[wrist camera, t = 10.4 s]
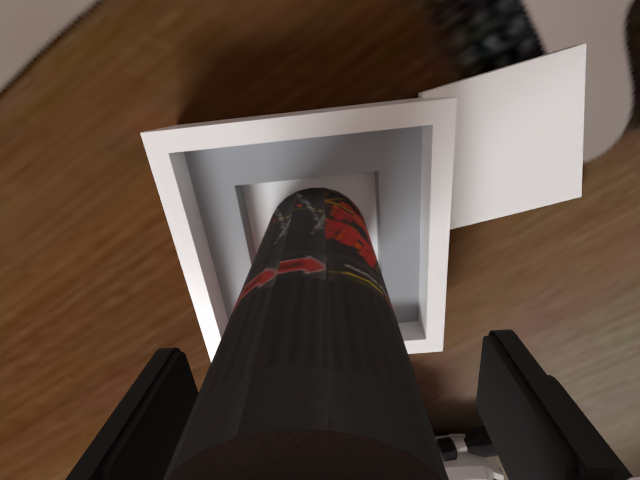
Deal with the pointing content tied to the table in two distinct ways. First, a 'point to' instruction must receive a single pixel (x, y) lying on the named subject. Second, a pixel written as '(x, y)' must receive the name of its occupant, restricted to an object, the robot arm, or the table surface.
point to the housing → (313, 172)
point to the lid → (517, 136)
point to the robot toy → (469, 455)
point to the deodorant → (310, 364)
